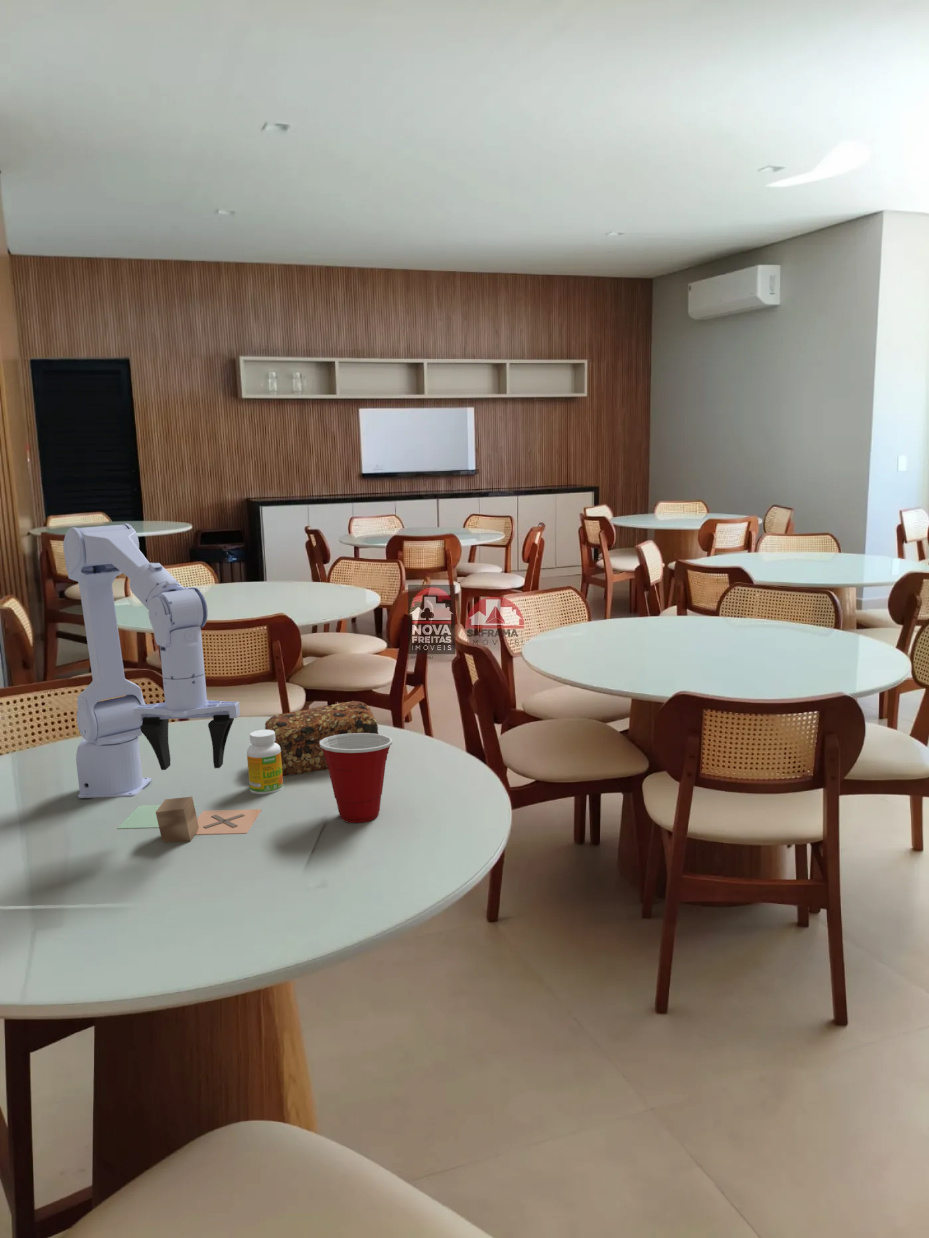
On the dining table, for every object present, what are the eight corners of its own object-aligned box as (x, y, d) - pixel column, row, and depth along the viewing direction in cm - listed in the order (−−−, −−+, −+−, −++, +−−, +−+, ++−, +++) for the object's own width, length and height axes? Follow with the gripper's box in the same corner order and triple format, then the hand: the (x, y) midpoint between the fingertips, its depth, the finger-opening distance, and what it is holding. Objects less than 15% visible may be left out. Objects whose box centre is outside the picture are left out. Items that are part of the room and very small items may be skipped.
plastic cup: (409, 807, 140) (405, 731, 137) (373, 833, 130) (368, 753, 128) (348, 798, 144) (344, 725, 142) (309, 823, 134) (304, 745, 132)
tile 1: (117, 830, 134) (117, 828, 134) (140, 807, 143) (139, 805, 143) (177, 829, 134) (177, 826, 134) (196, 806, 143) (196, 803, 143)
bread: (367, 747, 171) (364, 695, 169) (381, 763, 161) (378, 709, 159) (266, 761, 164) (262, 707, 163) (275, 780, 154) (270, 723, 153)
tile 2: (184, 837, 131) (184, 833, 131) (203, 813, 140) (203, 810, 140) (246, 835, 131) (246, 832, 131) (261, 811, 140) (261, 808, 140)
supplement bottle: (264, 798, 146) (260, 739, 144) (242, 792, 149) (238, 734, 147) (290, 788, 150) (286, 731, 148) (268, 782, 153) (264, 726, 151)
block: (162, 844, 129) (155, 812, 128) (172, 830, 133) (165, 799, 132) (190, 841, 129) (183, 809, 128) (199, 827, 133) (192, 796, 131)
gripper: (122, 683, 125) (131, 777, 127) (227, 679, 125) (235, 774, 127) (140, 671, 132) (149, 761, 134) (240, 668, 132) (247, 758, 134)
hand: (192, 766), depth 131 cm, fingers open, 7 cm apart
